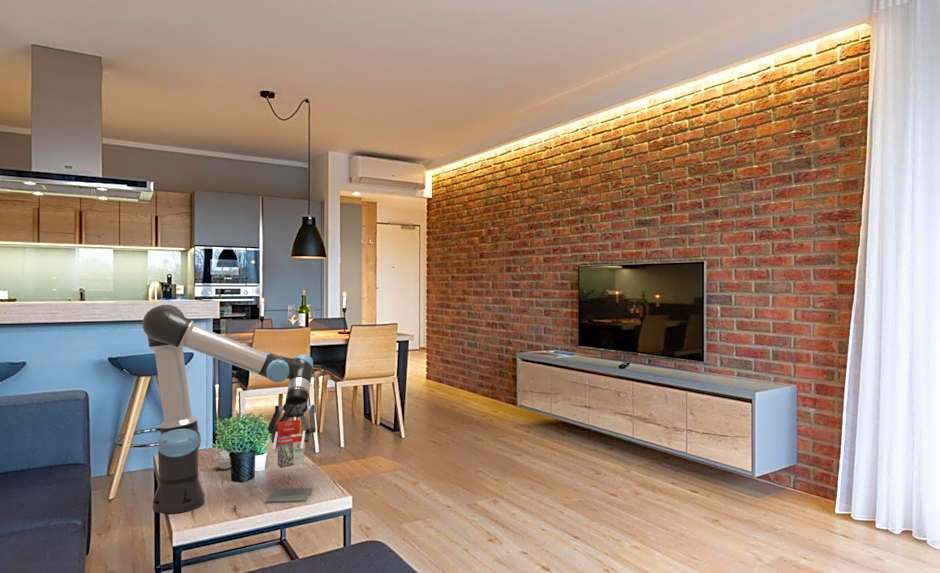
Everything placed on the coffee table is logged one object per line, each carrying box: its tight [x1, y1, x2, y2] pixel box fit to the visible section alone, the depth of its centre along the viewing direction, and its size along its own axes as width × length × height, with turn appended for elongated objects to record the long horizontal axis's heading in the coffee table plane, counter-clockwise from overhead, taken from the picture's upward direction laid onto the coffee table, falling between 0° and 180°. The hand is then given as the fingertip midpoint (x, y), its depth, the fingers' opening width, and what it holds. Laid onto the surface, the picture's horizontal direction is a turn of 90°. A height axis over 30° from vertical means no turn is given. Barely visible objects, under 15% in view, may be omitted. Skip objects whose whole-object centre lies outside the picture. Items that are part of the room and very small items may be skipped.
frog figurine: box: [214, 450, 231, 470], centre depth 234 cm, size 6×7×7 cm
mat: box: [264, 487, 314, 504], centre depth 203 cm, size 13×12×1 cm
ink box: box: [277, 418, 305, 469], centre depth 203 cm, size 4×8×15 cm, turn 124°
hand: (288, 450), depth 200 cm, fingers closed on ink box, 8 cm apart
